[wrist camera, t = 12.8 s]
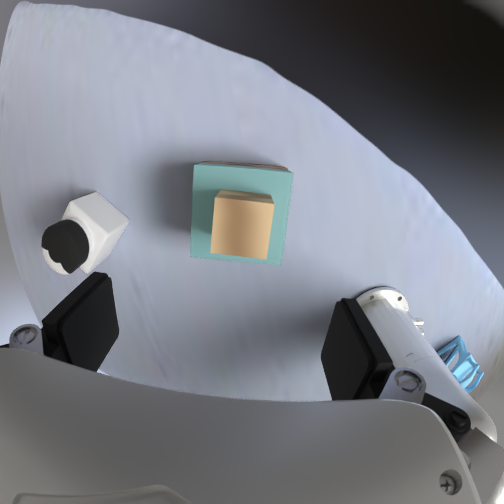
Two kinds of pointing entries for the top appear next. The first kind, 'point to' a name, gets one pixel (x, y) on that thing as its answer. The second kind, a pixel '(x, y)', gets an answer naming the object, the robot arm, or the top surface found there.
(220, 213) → the oak block
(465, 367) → the chair
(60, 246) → the medicine bottle
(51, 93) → the top surface
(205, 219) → the teal slab
